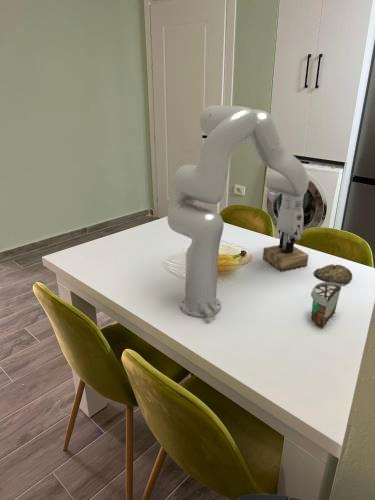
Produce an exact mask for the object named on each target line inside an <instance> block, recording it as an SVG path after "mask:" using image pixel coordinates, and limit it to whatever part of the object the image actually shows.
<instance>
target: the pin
mask: <svg viewBox="0 0 375 500" xmlns="http://www.w3.org/2000/svg"><path fill="white" fill-rule="evenodd" d="M291 238H293V236H292V237H291ZM287 242H288V234H286V233H284V237H283V245H282V253H284V254H288V253H290V252H285V250H286V243H287Z"/></svg>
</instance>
